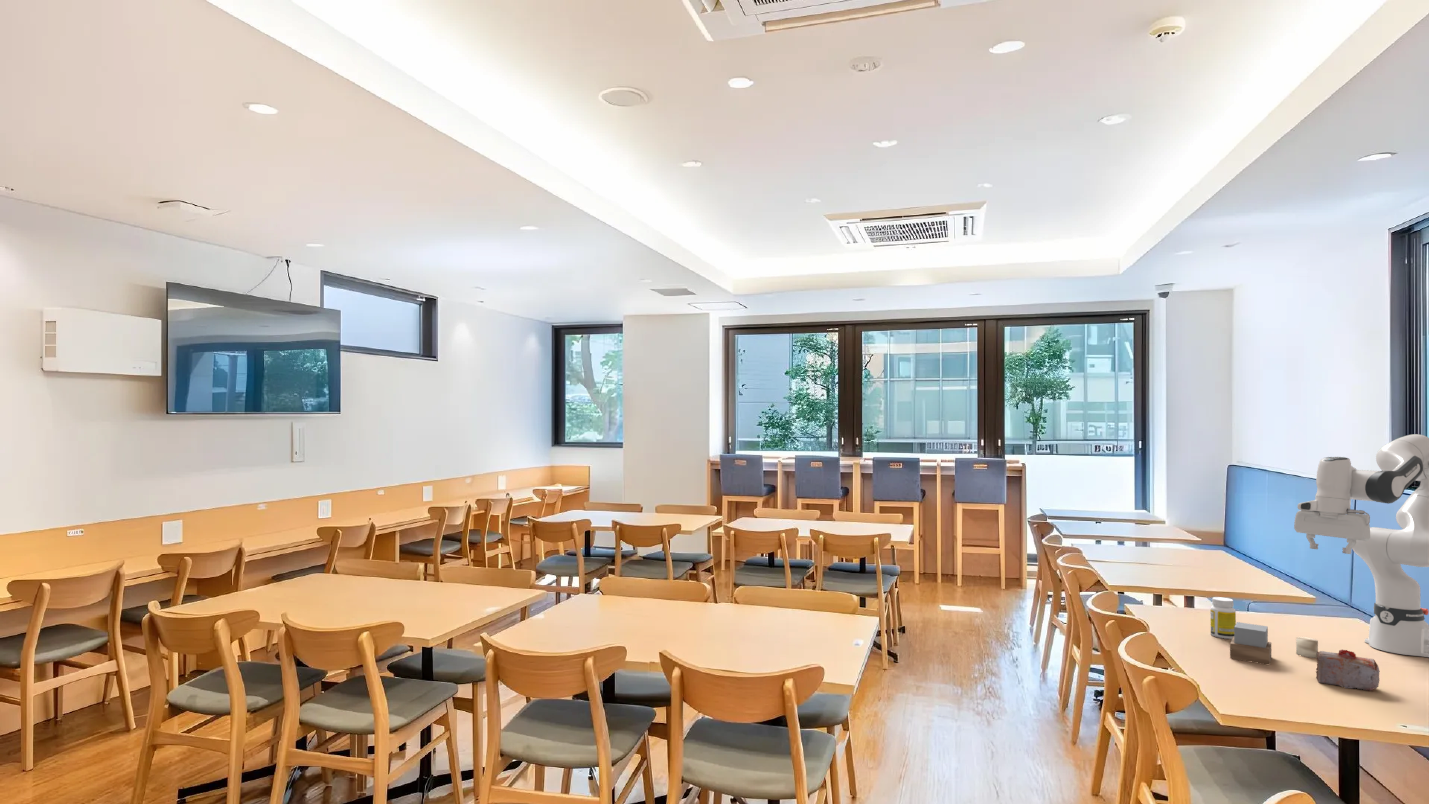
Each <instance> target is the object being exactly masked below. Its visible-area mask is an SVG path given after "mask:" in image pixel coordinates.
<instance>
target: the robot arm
mask: <svg viewBox="0 0 1429 804" xmlns="http://www.w3.org/2000/svg"><path fill="white" fill-rule="evenodd" d="M1375 455H1376V456H1375V459H1376V460H1375V461H1376V464H1377V466H1378V467H1379V469H1380V470H1372V469H1371V470H1369V469H1367V470H1366V469H1365V470H1364V469H1357V468H1355V467H1353V465H1352V461H1351V459H1350V458H1348V457H1345V456H1327V457H1323V458H1321V459H1320V460H1319V463H1318V467H1317V471H1316V481H1315V484H1316V487H1317V489H1316V493H1315V497H1314V498H1315V499H1313V500H1309V501H1304V502H1299V503H1298V504H1297V509H1298V511H1297V512H1296V514H1295V517H1294V527H1293V529H1294V530H1295V532H1296V533H1300V534H1306V539H1307V541H1308V543H1309V549H1312V550H1318V549H1319V543H1316V541H1315V538H1316V536H1324V537H1332V538H1338V539H1339V538H1340V539H1346V542H1347V543H1348V544H1346V546H1345V547H1342V554H1344V555H1345V554H1346V555H1351V554H1352V550H1353V552H1354V553H1355V554H1356V555H1357V556H1358V557H1359V558H1361V559H1362V560H1363V562H1364V563H1365V564H1366V565H1367V567H1368V569H1369V570H1370V572H1371V575H1372V577H1373V581H1374V591H1375V602H1374V604H1373V614H1374V616H1373V617H1371V618H1370V620H1369V629H1368V637H1367V638H1364V642H1365V643H1367V644H1368V646H1370V647H1372V648H1374V649H1377V650H1381V651H1383V652H1387V653H1392V654H1398V655H1404V656H1405V655H1406V656H1415V657H1423V658H1429V623H1428V622H1426V621H1425V619H1426V618H1425V616H1428V615H1429V609H1428V608H1423V607H1421V586H1420V584H1419V583H1418V581H1417V580H1416V579H1415V578H1413V577H1411V575H1408V574H1407V573H1406V572H1405V571H1404V570H1403V567H1402V565H1405V566H1411V567H1417V568H1429V437H1428V436H1426V435H1424V434H1419V433H1418V434H1417V433H1416V434H1415V433H1414V434H1408V435H1404V436H1401V437H1398V438H1396V439H1394V440H1392V441H1390V442H1388V443H1386V444H1384V445H1383V446H1381V448H1379V450H1378V451H1377V452H1376V454H1375ZM1415 481H1417V482H1420V484H1419V486H1418V487H1417V488H1416V489H1415V490H1414V491H1413V492H1412V493H1411V494H1410V495H1409V496H1408V497H1407V499H1406V500H1405V501H1404V503H1403V504H1402V505H1401V506H1400V508H1399V509H1398V510H1397V511H1396V515H1395V520H1396V522H1397V525H1398V526H1399V527H1400V528H1401V529H1394V528H1387V527H1386V528H1384V527H1377V526H1372V527H1371V526H1370V522H1371V515H1370V514H1369V513H1368V512H1366V511H1365V510H1361V509H1359V510H1358V509H1353V508H1351V507H1352V506H1351V503H1352V500H1356V501H1364V502H1365V501H1367V502H1375V503H1383V504H1387V505H1388V504H1393V503H1395V502H1397V501H1398V500H1399V499H1400V498H1401V497H1402V495H1403V494H1404V492H1405V490H1406V489H1407V488H1408V487H1410V485H1412V484H1413V483H1414V482H1415Z"/></svg>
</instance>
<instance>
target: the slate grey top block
mask: <svg viewBox="0 0 1429 804" xmlns="http://www.w3.org/2000/svg"><path fill="white" fill-rule="evenodd" d="M1268 631H1269V629H1268V626H1267V625H1260V624H1254V623H1249V622H1247V623H1246V622H1240V621H1236V625H1235V627H1234V643H1237V644H1243V645H1249V646H1256V647H1262V648H1266V646H1267V643H1268V642H1269V641H1268V640H1269V639H1268V637H1269V635H1268V634H1269V633H1268Z"/></svg>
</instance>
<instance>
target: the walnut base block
mask: <svg viewBox="0 0 1429 804" xmlns="http://www.w3.org/2000/svg"><path fill="white" fill-rule="evenodd" d="M1230 658H1232V659H1231V660H1236V661H1237V660H1238V661H1242V660H1243V661H1244V662H1248V661H1252V662H1251V663H1254V662H1258V663H1257V664H1260V663H1261V665H1266V664H1270V665H1271V660H1272V642H1271V641H1268V643H1267V646H1266V648H1262V647H1256V646H1249V645H1243V644H1237V643H1234V636H1233V638H1232V639H1230V643H1229V659H1230ZM1243 661H1242V662H1243Z"/></svg>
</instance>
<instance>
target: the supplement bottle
mask: <svg viewBox="0 0 1429 804" xmlns="http://www.w3.org/2000/svg"><path fill="white" fill-rule="evenodd" d="M1211 600H1212V601H1211V603H1212V605H1211V606H1210V608H1209V609H1210V612H1209V613H1210V614H1209V615H1210V635H1211V636H1213V637H1214V636H1215V638H1219V639H1223V638H1224V640H1225V639H1227V640H1232V638H1233V636H1234V627H1235V625H1236V623H1237V621H1236V620H1237V619H1236V617H1237V616H1236V614H1237V613H1236V612H1237V611H1236V609H1235V608H1234V600H1233V599H1232V598H1230V597H1223V596H1222V597H1220V596H1213V597H1212V598H1211Z"/></svg>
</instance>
